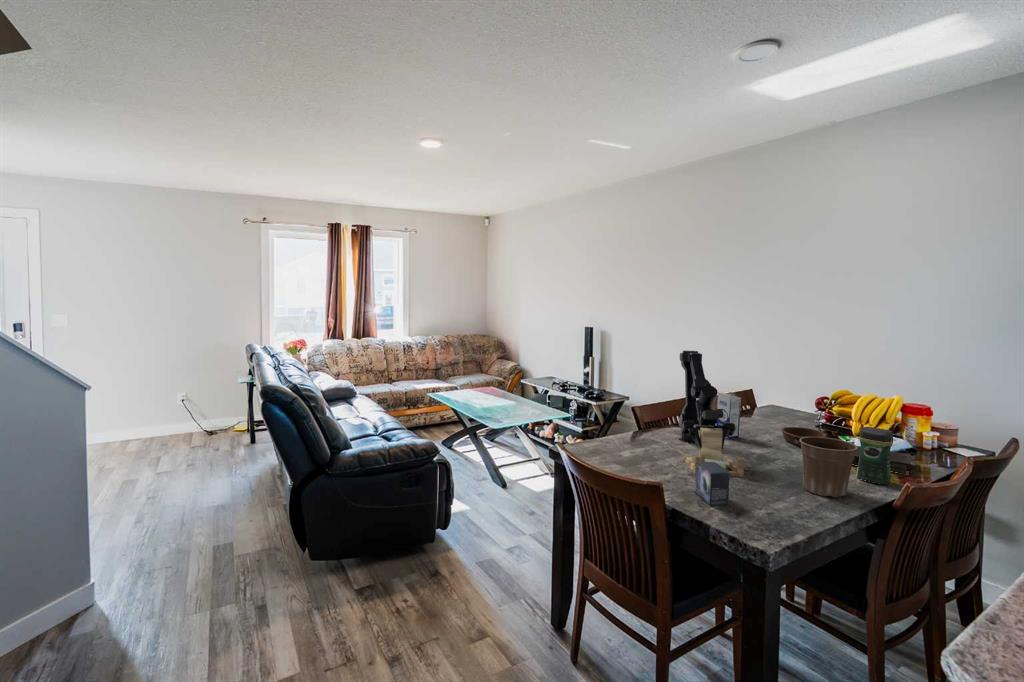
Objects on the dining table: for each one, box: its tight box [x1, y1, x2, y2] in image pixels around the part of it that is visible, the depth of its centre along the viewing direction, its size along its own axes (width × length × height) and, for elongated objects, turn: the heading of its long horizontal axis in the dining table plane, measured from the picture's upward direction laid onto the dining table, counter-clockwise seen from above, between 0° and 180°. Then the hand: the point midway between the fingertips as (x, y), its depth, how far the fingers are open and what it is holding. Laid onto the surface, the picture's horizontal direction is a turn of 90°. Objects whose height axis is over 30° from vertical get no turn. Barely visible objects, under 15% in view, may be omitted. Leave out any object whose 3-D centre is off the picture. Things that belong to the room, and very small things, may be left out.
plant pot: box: [800, 437, 858, 498], centre depth 172 cm, size 16×16×16 cm
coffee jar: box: [856, 425, 894, 485], centre depth 183 cm, size 10×8×19 cm
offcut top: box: [705, 458, 727, 468], centre depth 189 cm, size 4×7×2 cm, turn 66°
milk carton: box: [715, 391, 742, 440], centre depth 236 cm, size 7×7×20 cm
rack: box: [684, 454, 745, 478], centre depth 192 cm, size 17×16×7 cm
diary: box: [852, 445, 912, 474], centre depth 203 cm, size 19×25×5 cm
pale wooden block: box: [698, 428, 723, 462], centre depth 196 cm, size 4×7×14 cm, turn 84°
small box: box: [695, 461, 731, 507], centre depth 165 cm, size 11×6×10 cm, turn 5°
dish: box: [780, 426, 827, 447], centre depth 230 cm, size 17×22×5 cm
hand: (711, 448), depth 194 cm, fingers open, 7 cm apart
